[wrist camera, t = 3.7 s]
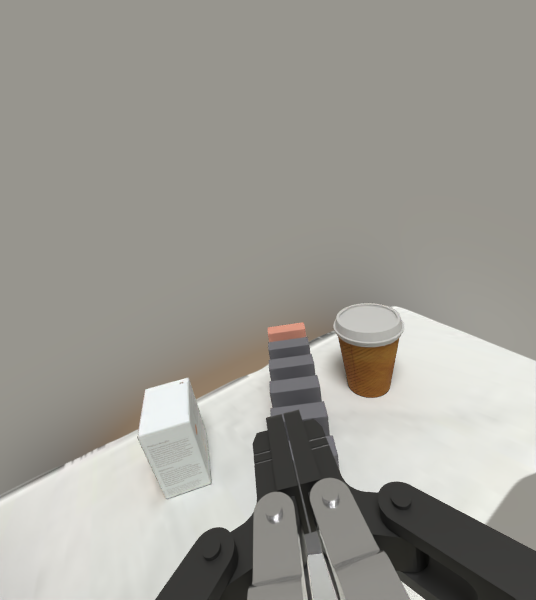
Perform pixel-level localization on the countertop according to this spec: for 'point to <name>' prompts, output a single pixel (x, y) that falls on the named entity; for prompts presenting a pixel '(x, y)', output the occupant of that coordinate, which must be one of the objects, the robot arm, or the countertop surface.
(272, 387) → the domino
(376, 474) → the countertop surface
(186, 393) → the small box
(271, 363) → the domino
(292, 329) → the domino
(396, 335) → the disposable coffee cup
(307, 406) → the domino
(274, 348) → the domino
